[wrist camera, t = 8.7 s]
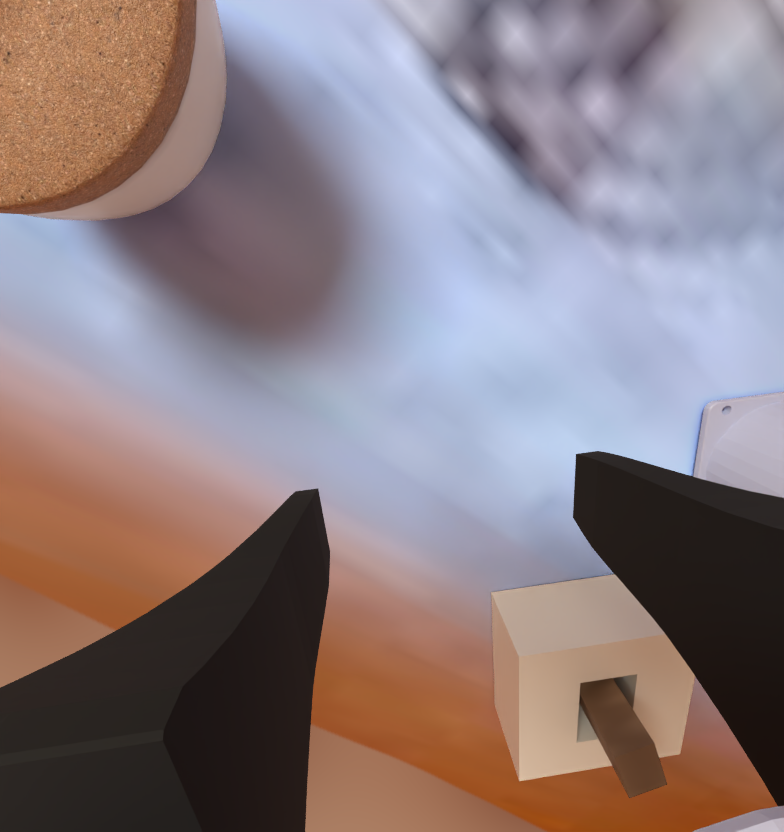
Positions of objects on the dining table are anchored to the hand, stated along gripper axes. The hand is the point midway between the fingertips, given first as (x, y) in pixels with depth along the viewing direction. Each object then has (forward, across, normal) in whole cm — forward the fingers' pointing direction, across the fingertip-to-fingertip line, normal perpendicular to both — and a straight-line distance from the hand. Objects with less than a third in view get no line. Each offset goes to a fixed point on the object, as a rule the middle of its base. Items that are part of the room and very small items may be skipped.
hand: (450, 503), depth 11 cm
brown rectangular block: (+9, -9, +18) cm, 22 cm away
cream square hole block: (+10, -9, +18) cm, 22 cm away
